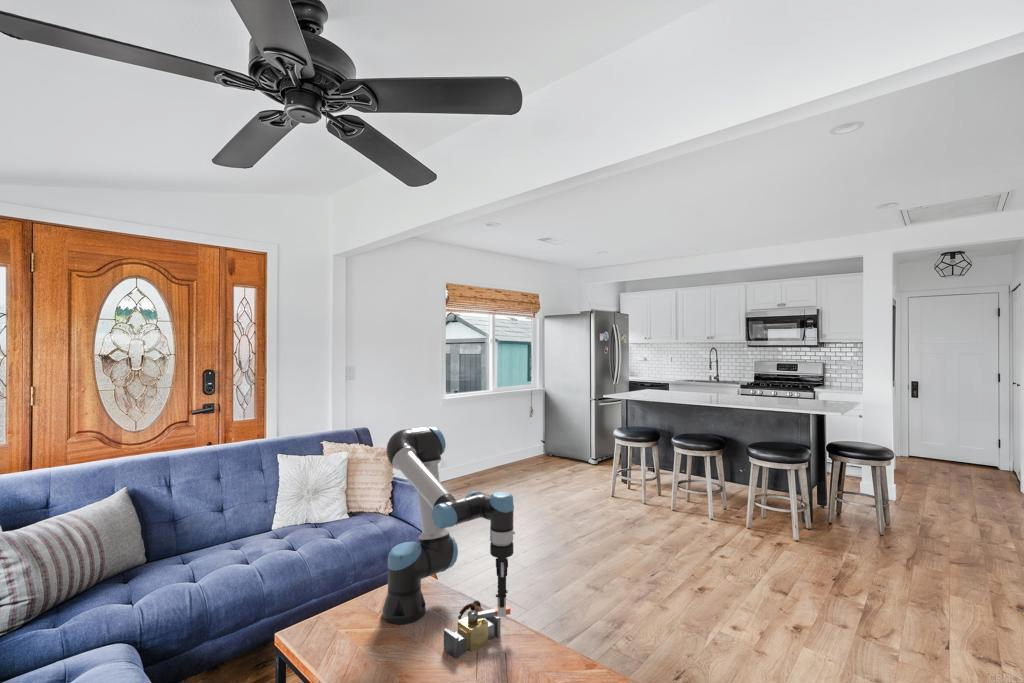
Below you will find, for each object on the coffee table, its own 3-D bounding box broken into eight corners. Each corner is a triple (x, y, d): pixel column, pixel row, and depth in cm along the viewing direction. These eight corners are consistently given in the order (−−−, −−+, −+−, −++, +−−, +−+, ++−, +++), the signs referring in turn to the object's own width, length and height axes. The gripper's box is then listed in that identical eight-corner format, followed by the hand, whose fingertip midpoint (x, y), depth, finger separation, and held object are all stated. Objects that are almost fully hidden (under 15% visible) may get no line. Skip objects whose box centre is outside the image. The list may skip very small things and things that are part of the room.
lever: (469, 624, 157) (469, 616, 157) (466, 618, 160) (466, 611, 160) (510, 615, 162) (511, 608, 162) (507, 610, 165) (507, 603, 165)
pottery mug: (489, 635, 164) (477, 616, 163) (464, 645, 166) (452, 627, 164) (492, 607, 176) (481, 590, 174) (469, 617, 177) (458, 600, 176)
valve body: (443, 649, 156) (443, 627, 156) (487, 628, 168) (487, 607, 168) (456, 660, 150) (456, 636, 150) (501, 637, 162) (501, 615, 163)
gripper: (514, 549, 154) (514, 626, 154) (512, 534, 167) (512, 604, 167) (490, 550, 154) (490, 626, 153) (490, 534, 167) (490, 605, 166)
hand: (501, 615), depth 160 cm, fingers closed
